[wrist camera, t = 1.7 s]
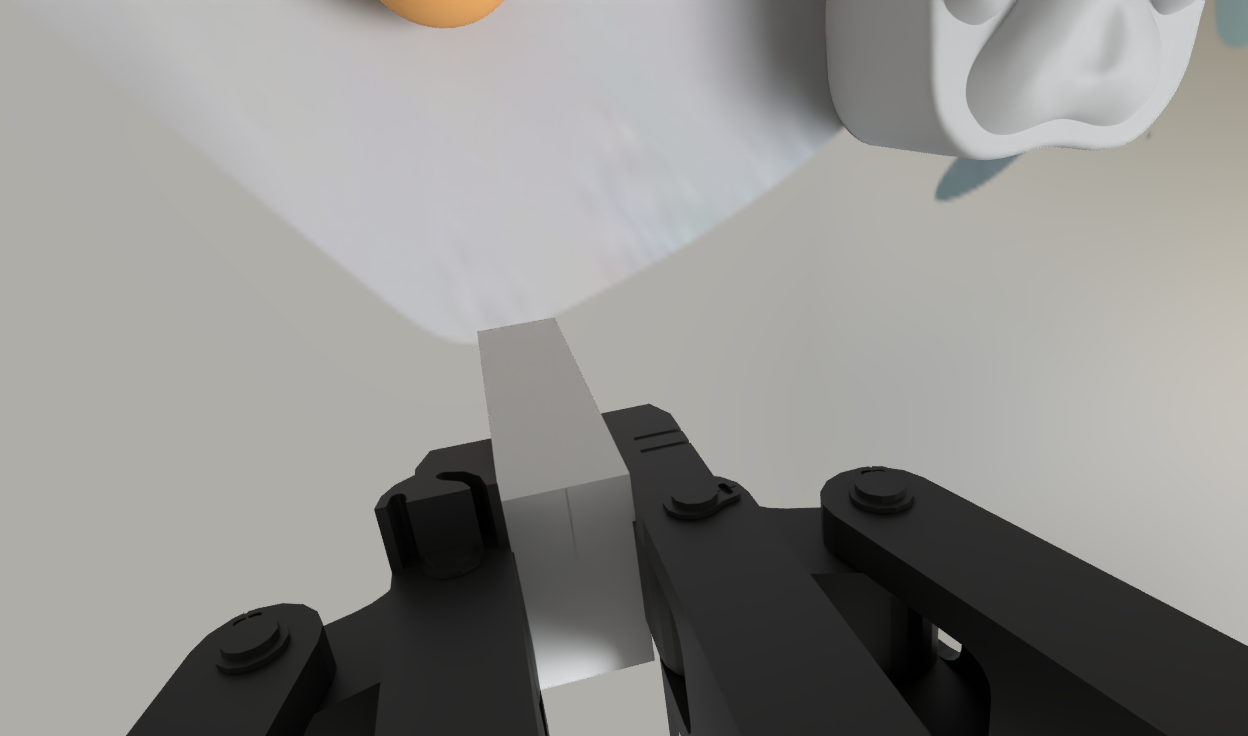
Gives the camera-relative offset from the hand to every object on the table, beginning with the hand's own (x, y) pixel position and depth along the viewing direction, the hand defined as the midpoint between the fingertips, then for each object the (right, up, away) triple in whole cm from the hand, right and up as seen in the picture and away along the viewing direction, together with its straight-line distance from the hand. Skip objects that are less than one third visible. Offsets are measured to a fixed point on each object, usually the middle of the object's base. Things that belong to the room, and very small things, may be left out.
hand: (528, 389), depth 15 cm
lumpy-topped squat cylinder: (+15, +16, +16) cm, 27 cm away
